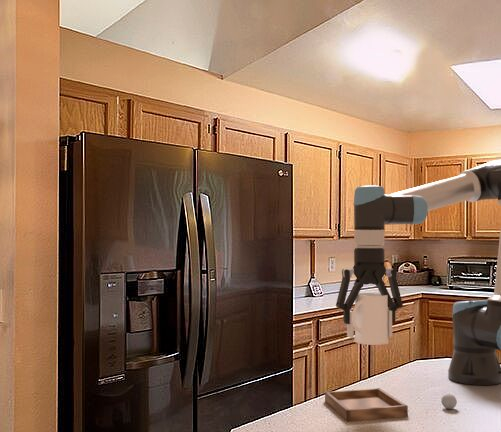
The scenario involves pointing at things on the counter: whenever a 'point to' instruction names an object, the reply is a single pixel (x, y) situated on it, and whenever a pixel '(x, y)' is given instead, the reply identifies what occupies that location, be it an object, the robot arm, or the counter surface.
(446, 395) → the ball
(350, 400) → the tray
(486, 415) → the counter surface
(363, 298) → the mug
